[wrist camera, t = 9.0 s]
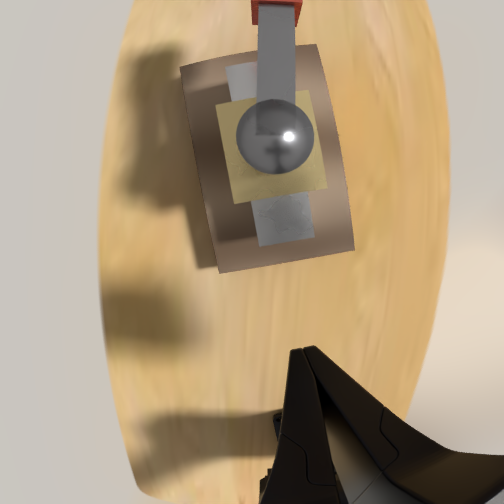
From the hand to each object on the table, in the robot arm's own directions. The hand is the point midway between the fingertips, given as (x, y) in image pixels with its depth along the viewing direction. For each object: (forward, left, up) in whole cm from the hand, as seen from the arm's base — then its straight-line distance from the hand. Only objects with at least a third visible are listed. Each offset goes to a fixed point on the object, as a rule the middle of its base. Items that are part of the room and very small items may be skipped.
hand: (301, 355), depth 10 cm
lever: (+11, -1, -5) cm, 12 cm away
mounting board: (+7, 0, -12) cm, 14 cm away
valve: (+7, 0, -10) cm, 13 cm away
